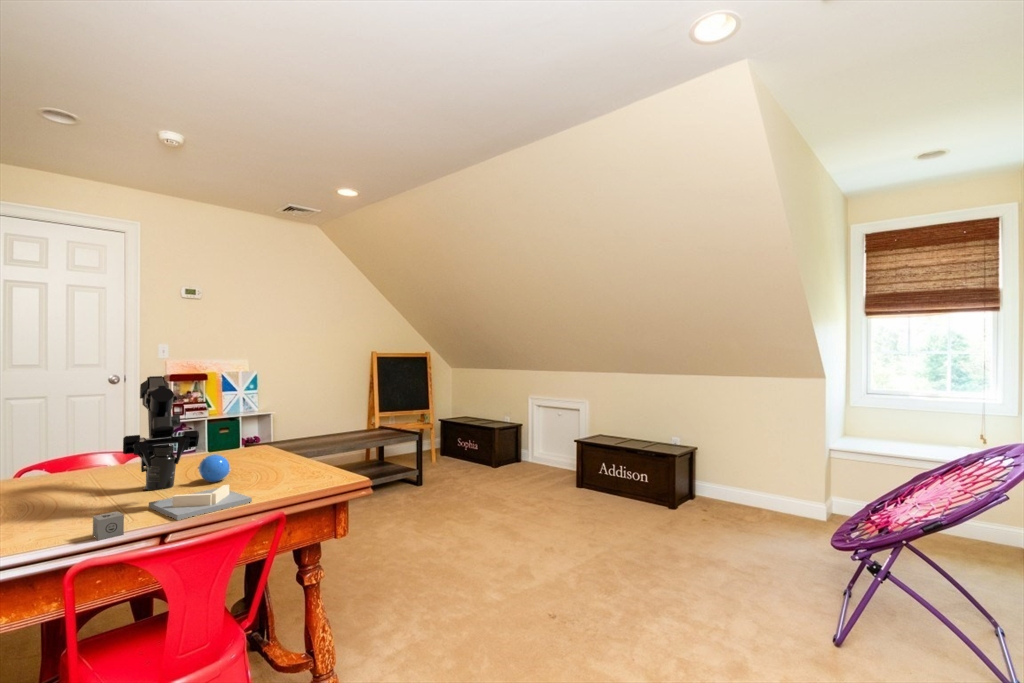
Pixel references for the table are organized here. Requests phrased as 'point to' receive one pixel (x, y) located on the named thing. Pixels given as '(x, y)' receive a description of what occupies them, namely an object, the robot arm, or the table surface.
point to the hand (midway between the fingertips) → (163, 465)
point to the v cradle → (199, 502)
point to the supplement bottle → (161, 469)
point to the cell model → (214, 468)
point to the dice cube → (108, 525)
